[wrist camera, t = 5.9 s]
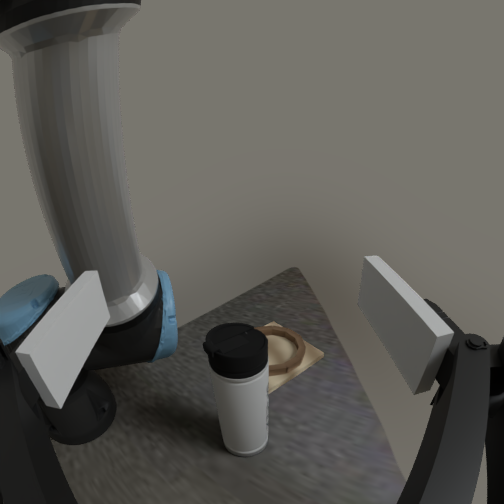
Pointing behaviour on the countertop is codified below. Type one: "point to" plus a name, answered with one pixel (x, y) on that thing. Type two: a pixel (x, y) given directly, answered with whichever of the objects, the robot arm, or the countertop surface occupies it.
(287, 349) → the mug stand
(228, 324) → the travel mug
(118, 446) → the countertop surface
